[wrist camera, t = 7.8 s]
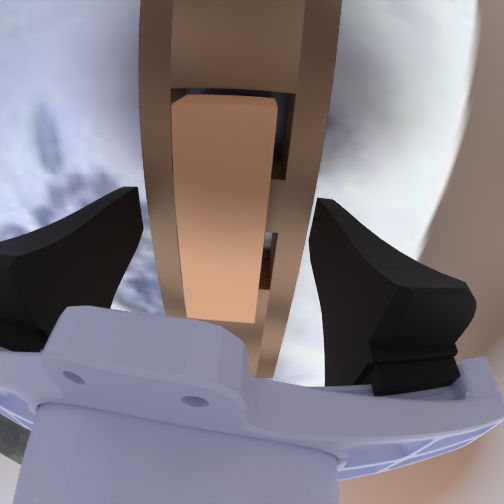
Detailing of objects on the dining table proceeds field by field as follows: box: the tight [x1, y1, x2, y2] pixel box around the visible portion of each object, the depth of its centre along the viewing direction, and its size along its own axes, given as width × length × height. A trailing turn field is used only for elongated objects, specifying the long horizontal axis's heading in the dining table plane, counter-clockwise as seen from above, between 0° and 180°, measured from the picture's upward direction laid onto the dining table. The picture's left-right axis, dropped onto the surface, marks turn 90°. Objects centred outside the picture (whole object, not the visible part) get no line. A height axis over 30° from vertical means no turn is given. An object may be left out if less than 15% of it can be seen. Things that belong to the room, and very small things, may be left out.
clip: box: [171, 95, 278, 323], centre depth 12 cm, size 9×3×5 cm, turn 176°
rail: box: [139, 0, 342, 378], centre depth 13 cm, size 28×7×2 cm, turn 176°
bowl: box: [0, 414, 31, 464], centre depth 39 cm, size 20×20×15 cm
